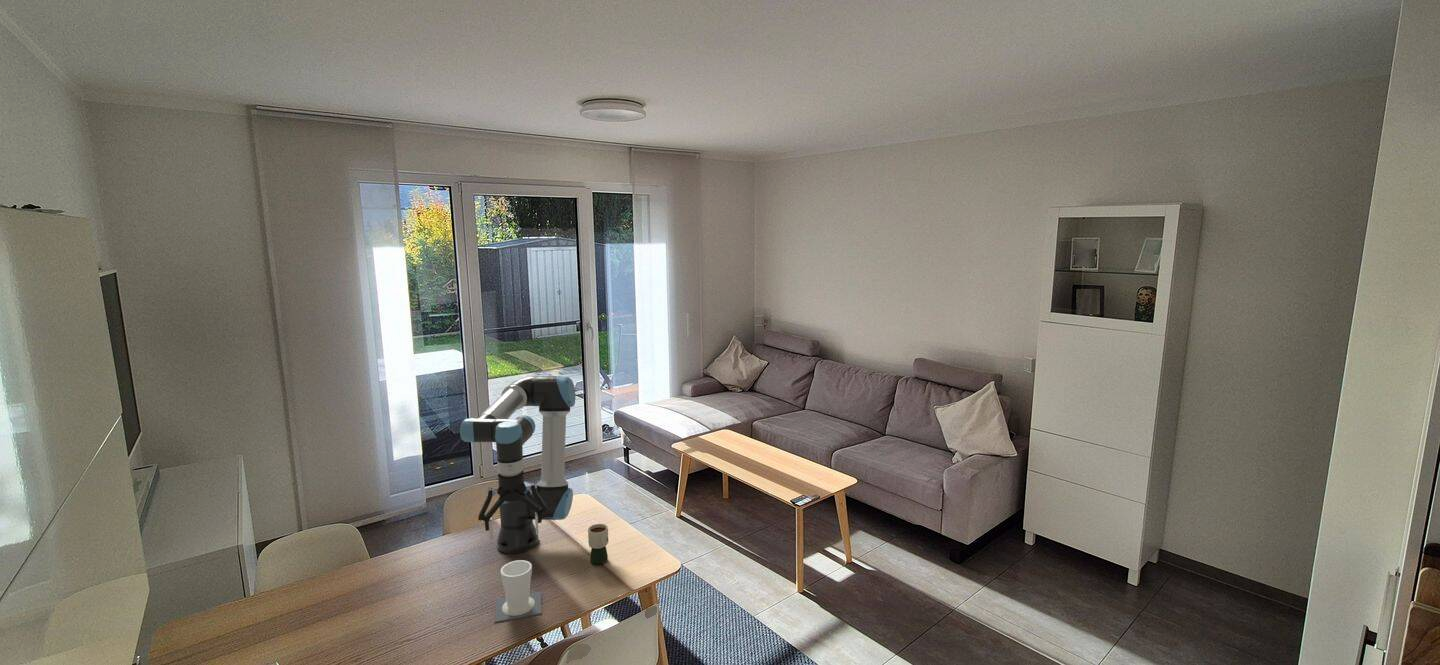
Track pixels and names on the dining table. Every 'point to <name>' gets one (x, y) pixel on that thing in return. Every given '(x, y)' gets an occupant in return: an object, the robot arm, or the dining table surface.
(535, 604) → the mat
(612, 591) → the dining table surface
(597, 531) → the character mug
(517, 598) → the foam cup
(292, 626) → the dining table surface
